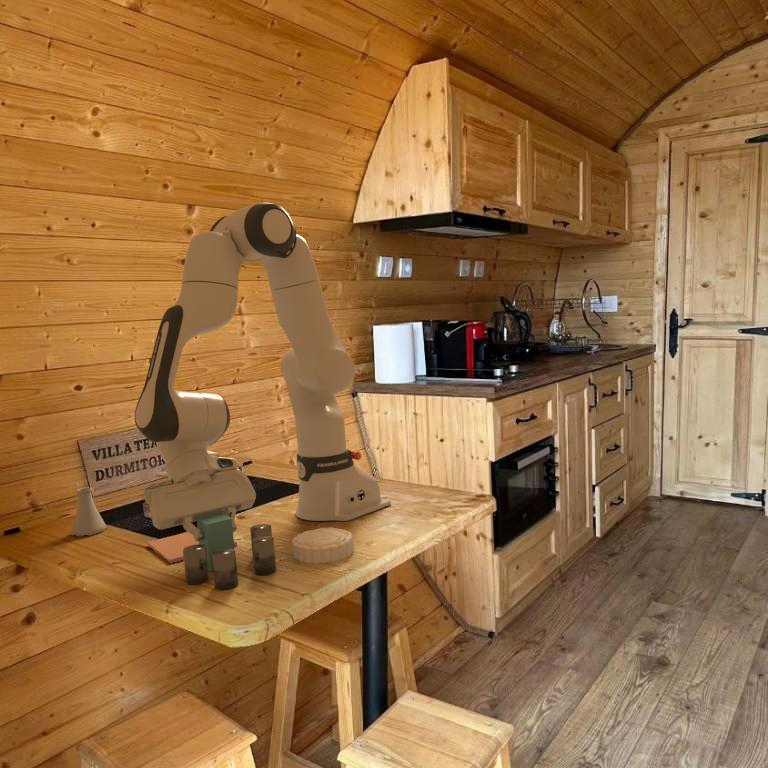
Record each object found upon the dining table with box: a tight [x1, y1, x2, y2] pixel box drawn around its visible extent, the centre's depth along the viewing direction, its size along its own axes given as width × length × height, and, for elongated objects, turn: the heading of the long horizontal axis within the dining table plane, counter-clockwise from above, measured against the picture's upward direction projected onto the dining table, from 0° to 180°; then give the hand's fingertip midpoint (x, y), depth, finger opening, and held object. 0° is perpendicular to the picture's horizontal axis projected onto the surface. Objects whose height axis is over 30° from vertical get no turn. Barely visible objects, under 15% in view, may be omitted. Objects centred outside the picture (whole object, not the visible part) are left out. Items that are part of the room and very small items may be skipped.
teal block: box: [196, 513, 235, 572], centre depth 134 cm, size 5×5×9 cm
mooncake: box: [291, 526, 355, 565], centre depth 137 cm, size 12×12×4 cm
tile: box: [146, 531, 238, 564], centre depth 145 cm, size 14×14×1 cm
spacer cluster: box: [183, 523, 277, 591], centre depth 129 cm, size 18×12×6 cm, turn 126°
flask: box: [70, 487, 108, 537], centre depth 159 cm, size 7×7×10 cm
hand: (216, 535), depth 133 cm, fingers closed on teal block, 5 cm apart
